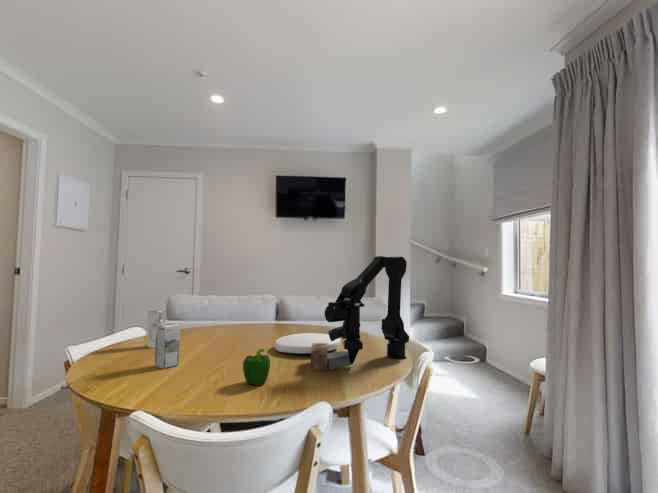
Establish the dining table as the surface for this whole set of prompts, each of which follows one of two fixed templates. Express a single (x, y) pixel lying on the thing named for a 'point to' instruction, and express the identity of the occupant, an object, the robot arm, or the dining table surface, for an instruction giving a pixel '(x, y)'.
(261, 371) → the bell pepper
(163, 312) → the beer glass
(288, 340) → the plate
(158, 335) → the syrup box
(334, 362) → the slate slab
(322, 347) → the walnut shelf
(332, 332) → the robot arm
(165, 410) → the dining table surface
